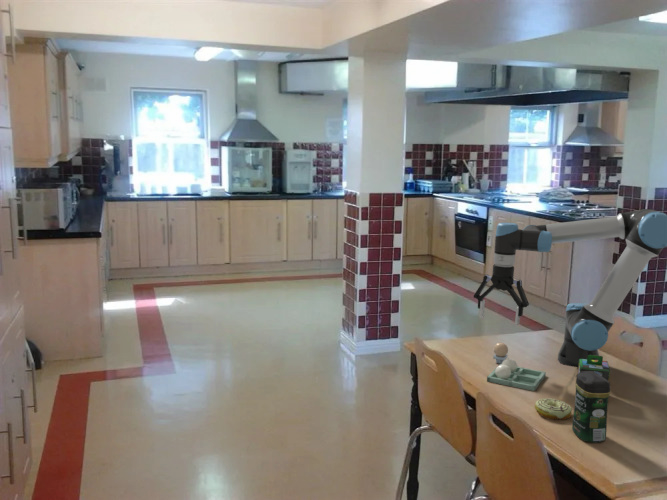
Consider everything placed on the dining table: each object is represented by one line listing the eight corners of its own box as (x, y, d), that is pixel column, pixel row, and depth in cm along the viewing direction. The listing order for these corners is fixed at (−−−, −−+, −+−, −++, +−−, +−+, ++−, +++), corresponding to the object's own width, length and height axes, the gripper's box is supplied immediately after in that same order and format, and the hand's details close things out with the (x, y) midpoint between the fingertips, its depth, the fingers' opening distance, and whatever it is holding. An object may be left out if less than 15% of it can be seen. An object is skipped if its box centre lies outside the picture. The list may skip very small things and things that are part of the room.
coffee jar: (567, 428, 182) (572, 368, 179) (593, 428, 183) (598, 368, 180) (582, 444, 173) (588, 381, 170) (610, 443, 173) (615, 380, 170)
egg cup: (507, 363, 236) (507, 354, 236) (503, 366, 233) (504, 358, 232) (496, 361, 238) (496, 352, 238) (492, 364, 235) (493, 355, 234)
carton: (545, 378, 221) (545, 372, 221) (534, 393, 208) (534, 386, 207) (500, 369, 230) (500, 363, 229) (486, 383, 216) (487, 377, 216)
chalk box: (605, 393, 209) (609, 351, 206) (607, 404, 200) (611, 360, 198) (576, 389, 212) (579, 348, 209) (577, 400, 203) (580, 356, 201)
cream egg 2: (512, 378, 218) (513, 364, 217) (508, 383, 214) (509, 368, 213) (497, 375, 221) (498, 361, 220) (492, 380, 216) (493, 365, 215)
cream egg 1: (518, 372, 225) (519, 358, 224) (514, 376, 220) (515, 362, 219) (503, 369, 227) (504, 355, 226) (499, 373, 223) (500, 359, 222)
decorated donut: (566, 425, 185) (567, 413, 184) (530, 415, 191) (531, 404, 190) (575, 413, 194) (575, 401, 193) (540, 404, 200) (541, 393, 199)
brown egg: (509, 355, 236) (510, 342, 235) (505, 359, 231) (506, 346, 231) (495, 353, 239) (496, 339, 238) (491, 357, 234) (492, 343, 233)
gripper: (467, 261, 230) (463, 316, 234) (534, 271, 216) (529, 329, 220) (475, 258, 236) (471, 312, 240) (541, 268, 223) (535, 325, 226)
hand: (498, 320), depth 230 cm, fingers open, 13 cm apart
